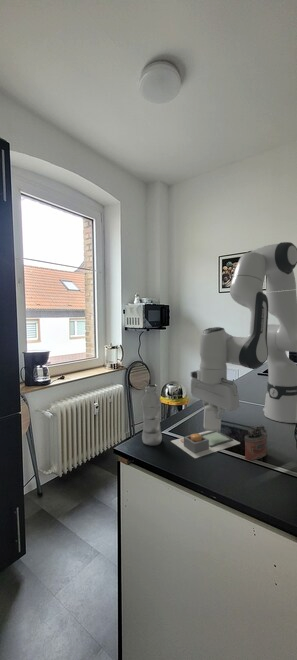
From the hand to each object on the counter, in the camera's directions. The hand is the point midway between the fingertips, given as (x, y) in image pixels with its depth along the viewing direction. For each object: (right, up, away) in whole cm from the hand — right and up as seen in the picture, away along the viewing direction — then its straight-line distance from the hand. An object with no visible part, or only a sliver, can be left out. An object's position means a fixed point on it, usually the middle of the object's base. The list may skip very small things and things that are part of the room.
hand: (213, 416), depth 92 cm
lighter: (+10, -10, -11) cm, 18 cm away
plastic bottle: (-21, -10, -1) cm, 23 cm away
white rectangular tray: (-3, -9, -2) cm, 10 cm away
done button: (-7, -6, -6) cm, 11 cm away
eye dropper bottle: (0, -5, +1) cm, 5 cm away
